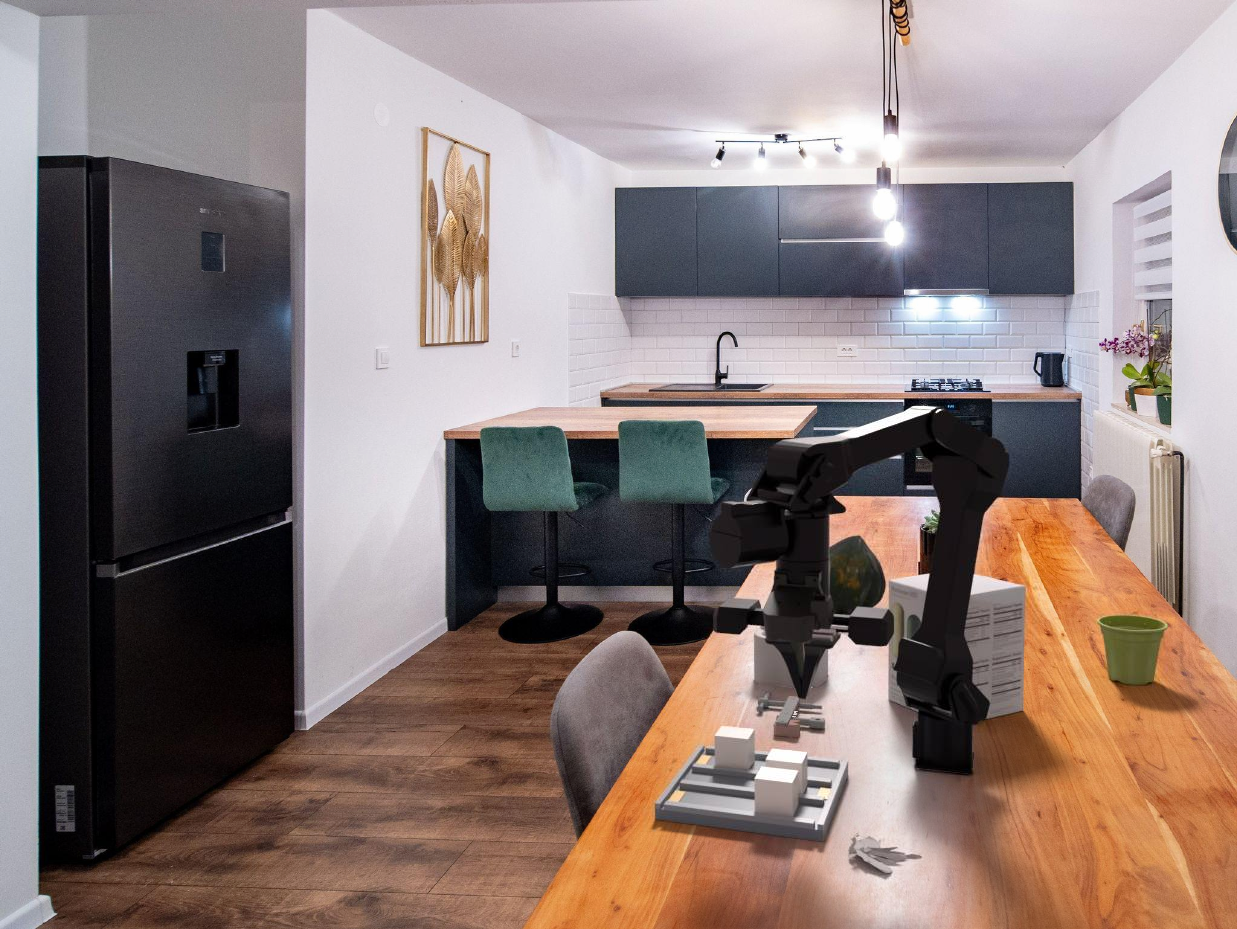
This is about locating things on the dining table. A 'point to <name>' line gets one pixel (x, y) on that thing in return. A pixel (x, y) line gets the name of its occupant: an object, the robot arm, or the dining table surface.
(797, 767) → the beige block
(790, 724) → the clamp
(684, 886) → the dining table surface
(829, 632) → the robot arm
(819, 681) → the lumpy-topped squat cylinder
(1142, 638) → the plant pot
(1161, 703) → the dining table surface
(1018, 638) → the supplement box
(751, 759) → the white block
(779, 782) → the beige block
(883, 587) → the squash
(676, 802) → the grey tray
